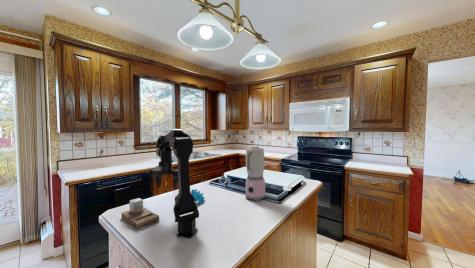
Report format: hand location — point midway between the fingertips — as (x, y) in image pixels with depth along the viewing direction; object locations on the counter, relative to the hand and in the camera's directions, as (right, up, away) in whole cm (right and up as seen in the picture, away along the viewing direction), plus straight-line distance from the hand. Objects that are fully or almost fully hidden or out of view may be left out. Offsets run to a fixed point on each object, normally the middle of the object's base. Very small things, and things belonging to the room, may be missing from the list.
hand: (167, 188), depth 102 cm
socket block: (-10, -12, -10) cm, 18 cm away
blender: (+48, -11, +15) cm, 52 cm away
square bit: (-13, -12, -7) cm, 19 cm away
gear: (+14, -12, +11) cm, 22 cm away
